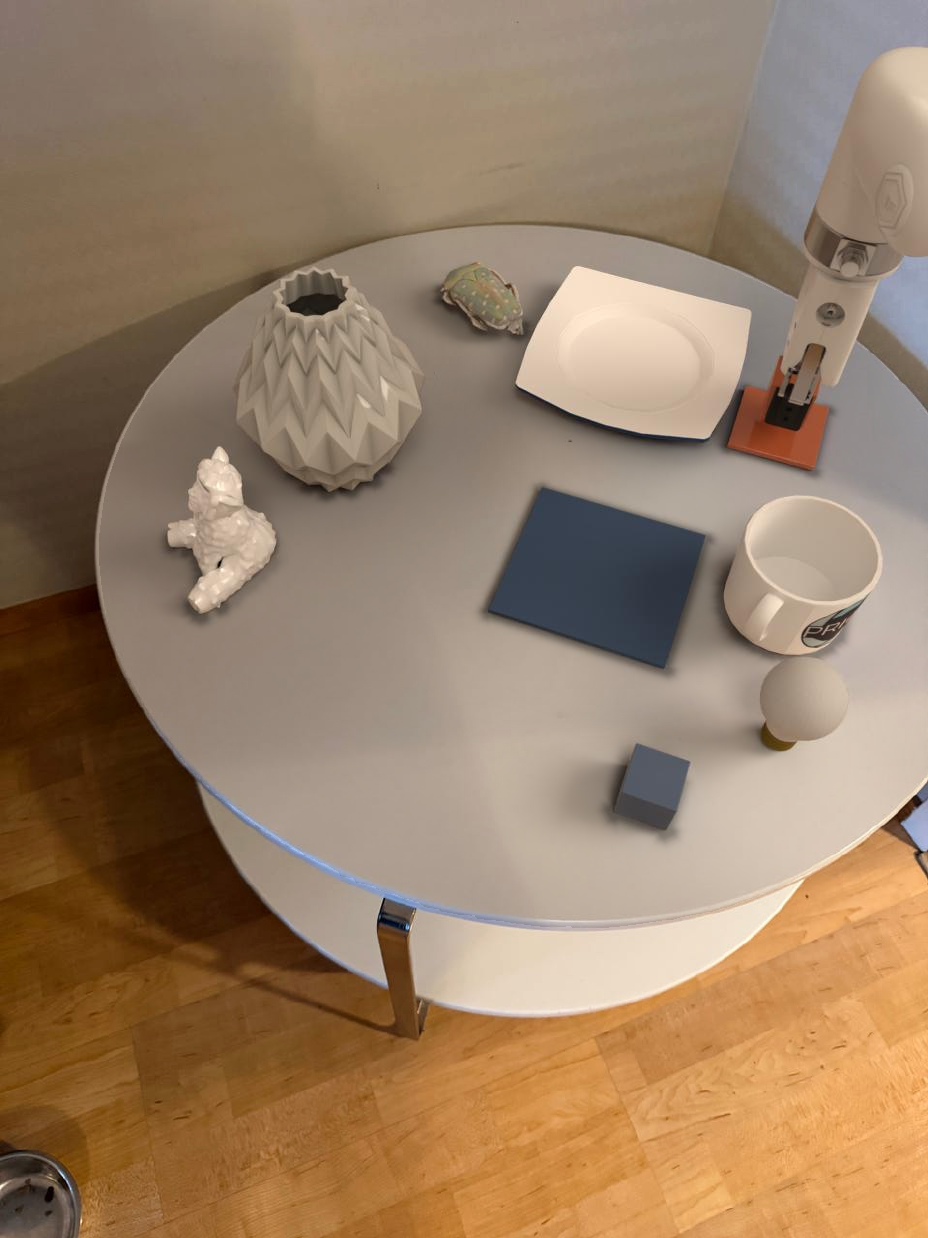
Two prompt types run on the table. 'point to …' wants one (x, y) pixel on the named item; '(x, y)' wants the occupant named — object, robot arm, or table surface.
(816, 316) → the robot arm
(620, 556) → the navy blue mat
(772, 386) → the terracotta block
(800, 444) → the terracotta tile
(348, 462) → the vase
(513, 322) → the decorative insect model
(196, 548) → the sitting furry creature
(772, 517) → the mug
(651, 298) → the plate
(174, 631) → the table surface
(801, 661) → the light bulb
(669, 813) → the slate block
